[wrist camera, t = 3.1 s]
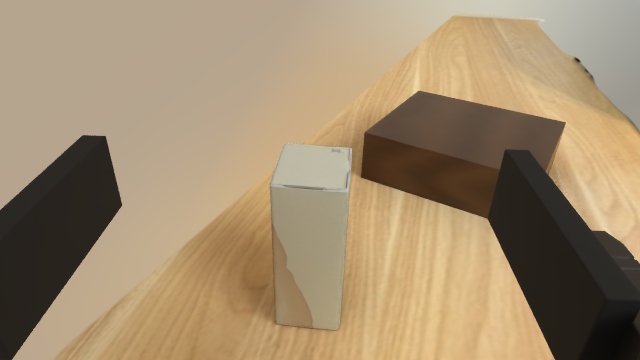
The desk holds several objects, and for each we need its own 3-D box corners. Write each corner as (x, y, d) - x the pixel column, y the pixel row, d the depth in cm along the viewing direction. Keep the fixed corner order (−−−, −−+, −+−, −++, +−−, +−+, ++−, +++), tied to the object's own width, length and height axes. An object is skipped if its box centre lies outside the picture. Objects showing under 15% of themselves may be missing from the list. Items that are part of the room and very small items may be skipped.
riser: (360, 177, 47) (364, 132, 44) (413, 129, 57) (418, 90, 55) (526, 230, 40) (542, 180, 37) (552, 164, 50) (566, 122, 47)
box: (287, 272, 35) (284, 139, 29) (344, 278, 34) (353, 143, 28) (273, 328, 30) (267, 182, 24) (339, 334, 30) (349, 189, 24)
